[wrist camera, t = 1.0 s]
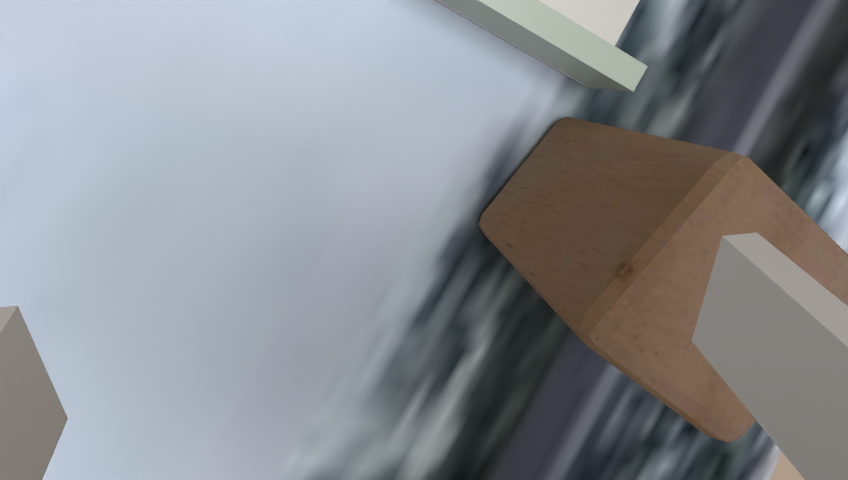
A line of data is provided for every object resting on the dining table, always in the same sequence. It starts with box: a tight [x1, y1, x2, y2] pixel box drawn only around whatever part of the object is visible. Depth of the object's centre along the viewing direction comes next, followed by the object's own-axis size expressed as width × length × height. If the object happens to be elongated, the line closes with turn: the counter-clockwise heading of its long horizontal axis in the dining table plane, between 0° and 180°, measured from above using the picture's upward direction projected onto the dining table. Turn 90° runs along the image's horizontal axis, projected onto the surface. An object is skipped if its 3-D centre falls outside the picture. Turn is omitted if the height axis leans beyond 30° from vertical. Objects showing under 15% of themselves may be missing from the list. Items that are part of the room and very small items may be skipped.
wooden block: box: [479, 117, 848, 442], centre depth 35 cm, size 10×10×20 cm
